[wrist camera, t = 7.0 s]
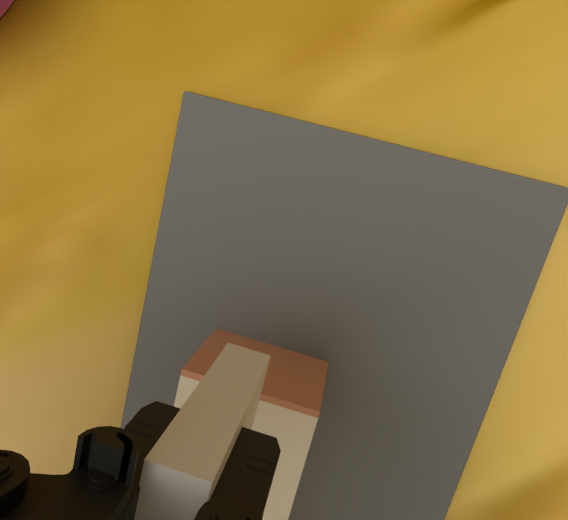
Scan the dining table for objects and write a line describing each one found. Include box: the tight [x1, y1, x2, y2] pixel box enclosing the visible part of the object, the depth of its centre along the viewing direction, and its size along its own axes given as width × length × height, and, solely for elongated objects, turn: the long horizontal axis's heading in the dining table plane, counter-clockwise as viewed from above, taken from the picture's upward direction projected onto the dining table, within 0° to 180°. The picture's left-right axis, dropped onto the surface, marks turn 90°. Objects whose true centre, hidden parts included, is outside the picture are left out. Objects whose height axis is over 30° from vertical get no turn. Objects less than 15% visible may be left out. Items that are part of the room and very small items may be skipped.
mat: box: [121, 91, 568, 520], centre depth 26 cm, size 18×23×1 cm
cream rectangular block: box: [174, 328, 329, 520], centre depth 24 cm, size 6×5×11 cm
